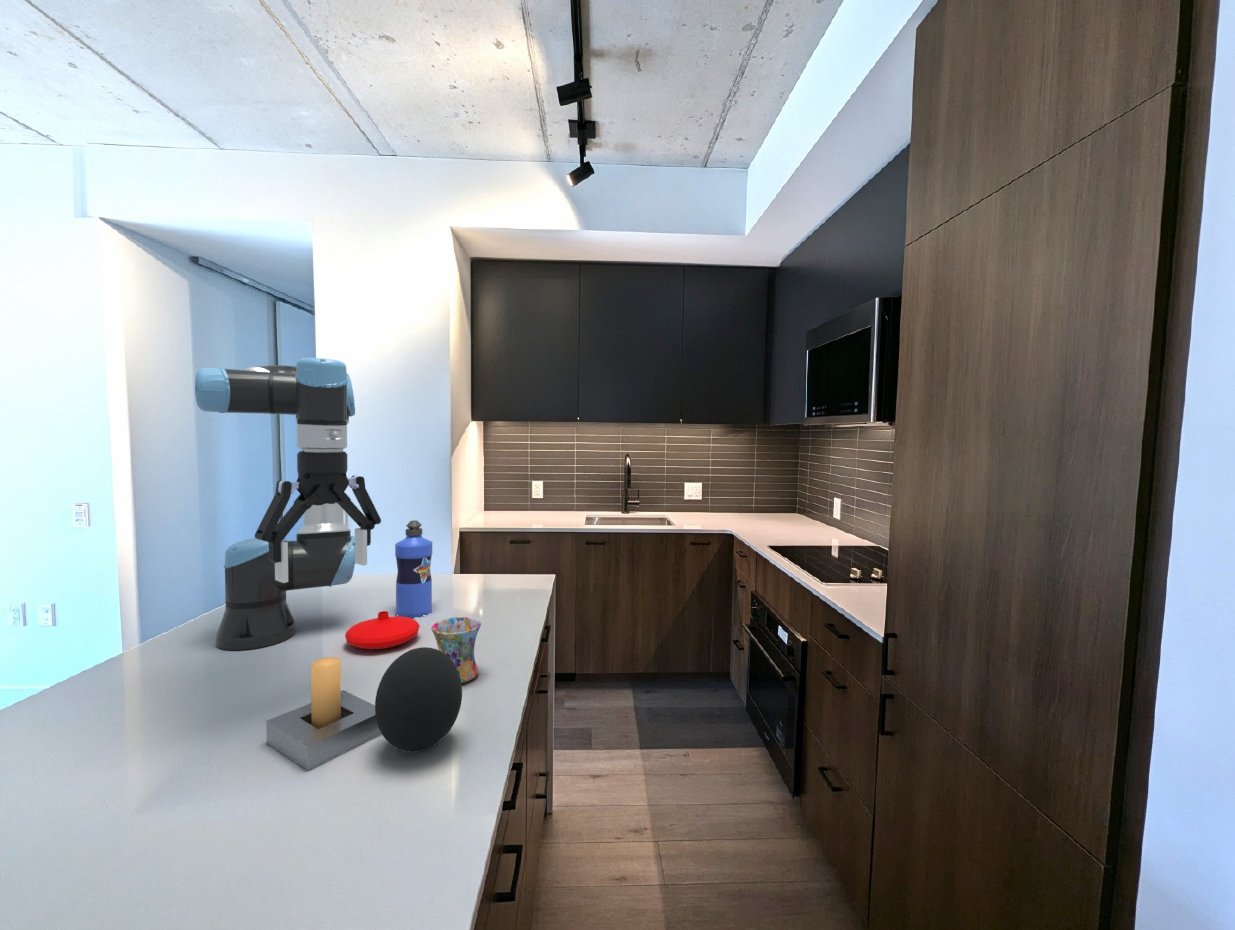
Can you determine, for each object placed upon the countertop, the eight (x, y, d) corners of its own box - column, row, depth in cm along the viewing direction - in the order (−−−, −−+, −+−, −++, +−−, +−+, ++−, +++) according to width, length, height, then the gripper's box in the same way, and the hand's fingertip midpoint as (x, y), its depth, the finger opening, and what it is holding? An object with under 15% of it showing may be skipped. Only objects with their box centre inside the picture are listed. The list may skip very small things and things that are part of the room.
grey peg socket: (266, 743, 80) (266, 720, 80) (343, 709, 90) (343, 690, 90) (307, 770, 73) (307, 746, 73) (385, 731, 83) (385, 710, 83)
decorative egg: (398, 723, 86) (397, 633, 85) (472, 725, 85) (472, 635, 85) (358, 770, 74) (357, 666, 73) (445, 773, 73) (445, 668, 73)
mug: (484, 683, 100) (484, 629, 100) (433, 692, 97) (433, 635, 96) (475, 659, 111) (475, 610, 111) (429, 666, 108) (429, 615, 107)
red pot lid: (328, 649, 116) (328, 618, 116) (384, 626, 130) (384, 598, 130) (382, 661, 110) (381, 628, 110) (434, 636, 124) (434, 607, 124)
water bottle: (439, 609, 144) (439, 519, 143) (416, 620, 135) (416, 524, 134) (412, 605, 147) (411, 517, 146) (387, 615, 138) (387, 522, 137)
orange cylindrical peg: (306, 739, 81) (305, 663, 80) (332, 727, 84) (331, 654, 84) (320, 747, 79) (319, 670, 78) (346, 735, 82) (345, 660, 82)
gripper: (250, 453, 77) (253, 594, 78) (400, 450, 98) (400, 561, 99) (228, 450, 81) (230, 584, 82) (377, 448, 102) (377, 554, 103)
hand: (323, 572), depth 91 cm, fingers open, 13 cm apart
